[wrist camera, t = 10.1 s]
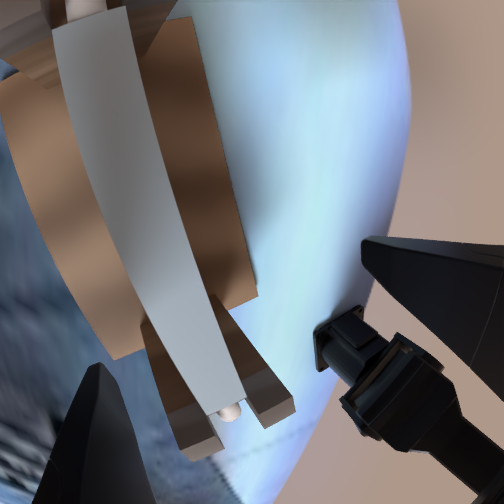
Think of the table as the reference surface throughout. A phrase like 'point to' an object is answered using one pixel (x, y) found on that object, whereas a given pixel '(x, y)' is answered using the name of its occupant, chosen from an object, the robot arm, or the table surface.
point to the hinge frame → (89, 214)
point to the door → (141, 197)
